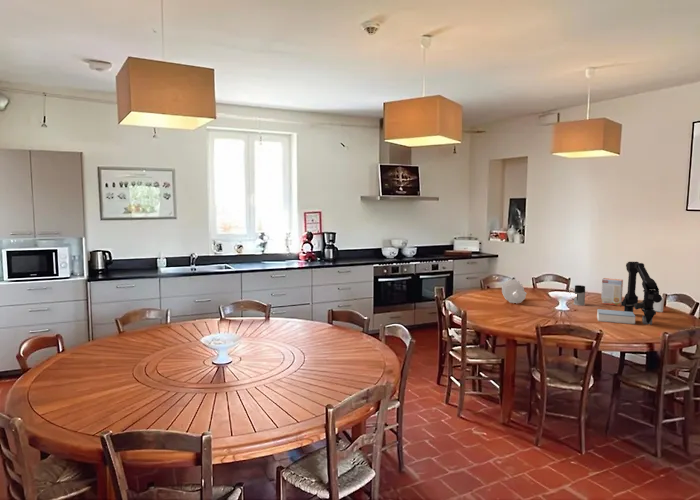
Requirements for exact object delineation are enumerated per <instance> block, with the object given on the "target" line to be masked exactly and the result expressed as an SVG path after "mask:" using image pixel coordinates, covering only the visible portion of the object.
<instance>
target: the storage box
mask: <svg viewBox="0 0 700 500" xmlns="http://www.w3.org/2000/svg"><path fill="white" fill-rule="evenodd" d="M596 311H597V310H596ZM596 319H597V322H603V323H605V322H606V323H614V324H615V323H616V324H617V323H618V324H626V325H636V316H635V317H626V316H615V315H603V314H599V313H598V311H597V313H596Z"/></svg>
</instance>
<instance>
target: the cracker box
mask: <svg viewBox="0 0 700 500" xmlns="http://www.w3.org/2000/svg"><path fill="white" fill-rule="evenodd" d="M623 285H624V279H620V278H619V279H617V278H606V277H604V278H602V282H601V298H600V299H601V302H600V304H601V305H608V306H609V305H610V306H615V307H616V306H617V307H621V306H622V304H621V302H622V301H623V287H624V286H623Z"/></svg>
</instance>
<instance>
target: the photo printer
mask: <svg viewBox="0 0 700 500" xmlns="http://www.w3.org/2000/svg"><path fill="white" fill-rule="evenodd" d="M661 297H662V300H661V301H660V302H658V303H656V302H654V303H653V308H654V310H655V311H656V313H657V312H658V313H664V304H665V303H664V300H665V299H664V297H663V296H662V295H661Z"/></svg>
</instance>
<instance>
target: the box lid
mask: <svg viewBox="0 0 700 500" xmlns="http://www.w3.org/2000/svg"><path fill="white" fill-rule="evenodd" d="M596 311H598V313H599V314H603V315H615V316H626V317H635V318H636V315H635V314H634V311H633V312H627V311H624V310H613V309H600V308H597V310H596Z"/></svg>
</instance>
